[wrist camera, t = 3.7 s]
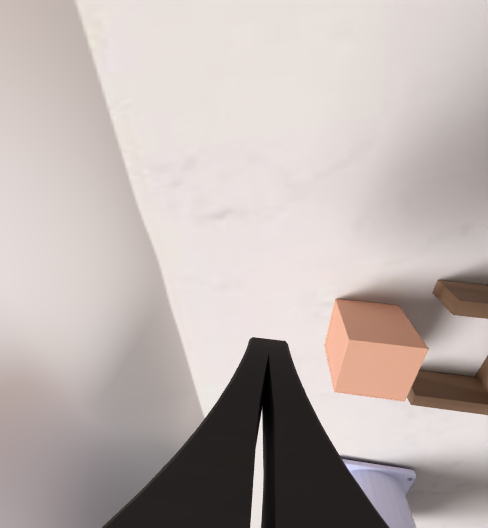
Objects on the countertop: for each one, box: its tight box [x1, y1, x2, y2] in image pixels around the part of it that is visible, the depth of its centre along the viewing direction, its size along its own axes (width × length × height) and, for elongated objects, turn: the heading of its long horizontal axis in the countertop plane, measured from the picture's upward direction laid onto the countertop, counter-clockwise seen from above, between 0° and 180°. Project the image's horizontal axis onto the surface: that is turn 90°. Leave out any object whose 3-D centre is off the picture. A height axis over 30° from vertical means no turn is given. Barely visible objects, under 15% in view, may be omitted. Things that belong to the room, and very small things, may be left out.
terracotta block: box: [325, 299, 429, 401], centre depth 19 cm, size 4×4×4 cm
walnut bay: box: [407, 280, 488, 415], centre depth 19 cm, size 9×6×2 cm
